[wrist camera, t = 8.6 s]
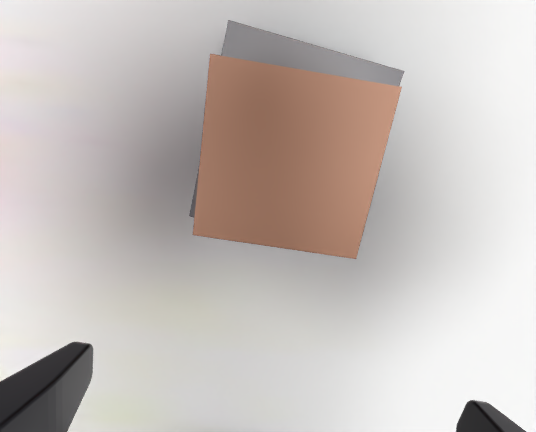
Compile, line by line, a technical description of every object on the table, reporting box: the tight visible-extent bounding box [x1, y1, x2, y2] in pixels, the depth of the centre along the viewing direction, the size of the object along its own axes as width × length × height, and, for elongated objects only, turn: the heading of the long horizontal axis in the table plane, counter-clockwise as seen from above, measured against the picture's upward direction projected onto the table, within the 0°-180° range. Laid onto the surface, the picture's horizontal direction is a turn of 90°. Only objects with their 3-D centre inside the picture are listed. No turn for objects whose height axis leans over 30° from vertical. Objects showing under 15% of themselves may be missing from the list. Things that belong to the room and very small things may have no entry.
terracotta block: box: [193, 54, 402, 259], centre depth 12 cm, size 5×5×5 cm
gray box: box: [189, 20, 404, 217], centre depth 16 cm, size 8×7×4 cm
